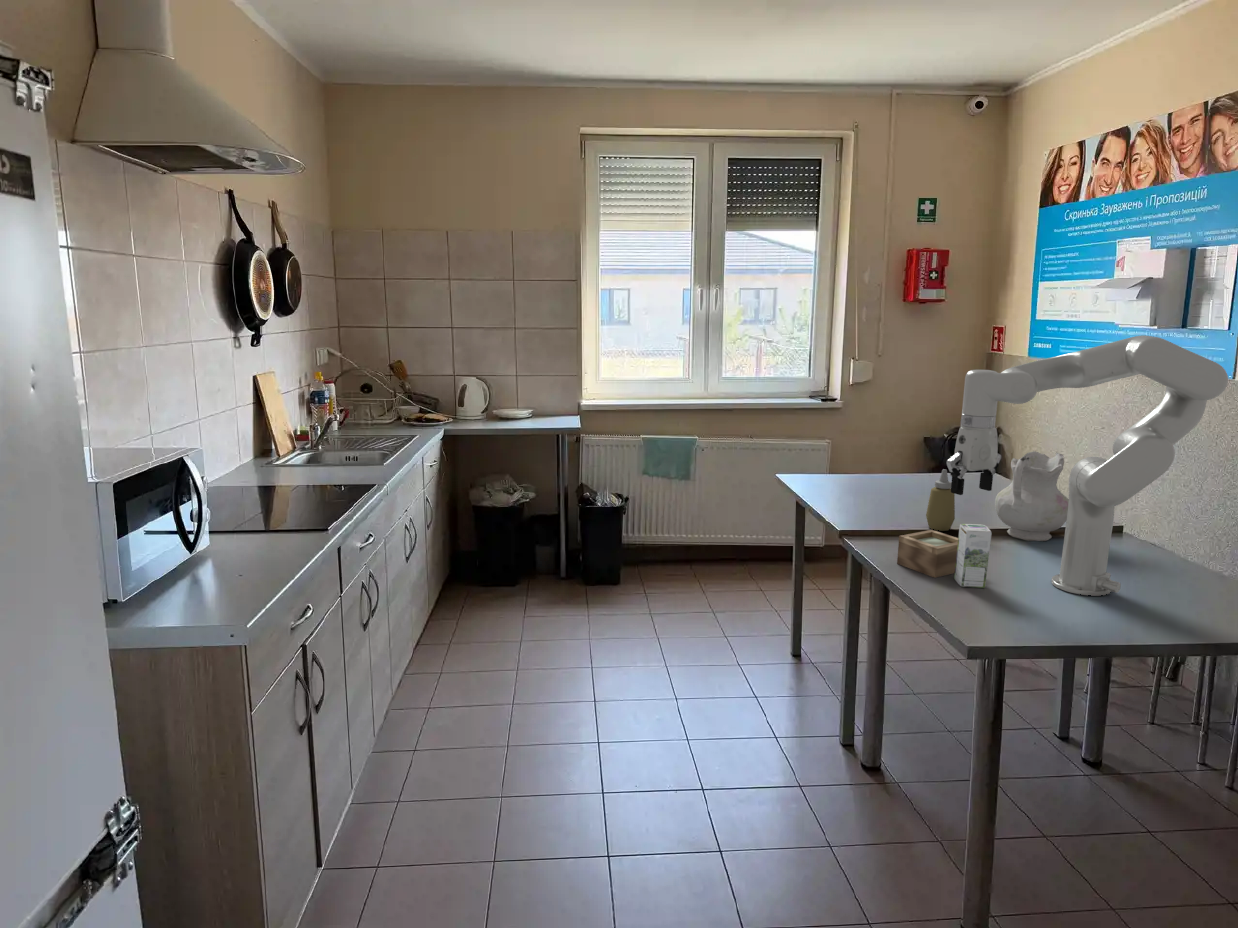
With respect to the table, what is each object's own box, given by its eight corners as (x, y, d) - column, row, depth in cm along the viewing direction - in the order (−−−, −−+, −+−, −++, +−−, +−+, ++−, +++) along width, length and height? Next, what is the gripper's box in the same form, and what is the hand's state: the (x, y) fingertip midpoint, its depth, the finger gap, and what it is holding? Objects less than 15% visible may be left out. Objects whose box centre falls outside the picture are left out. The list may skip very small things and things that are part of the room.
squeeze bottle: (935, 533, 239) (941, 473, 236) (919, 525, 247) (924, 467, 243) (959, 531, 242) (965, 472, 238) (942, 524, 249) (947, 466, 245)
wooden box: (967, 570, 208) (970, 541, 206) (934, 577, 202) (937, 548, 201) (929, 556, 218) (931, 529, 217) (896, 563, 213) (899, 535, 211)
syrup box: (977, 580, 201) (983, 523, 198) (985, 588, 195) (992, 530, 192) (953, 579, 201) (959, 522, 198) (961, 587, 196) (966, 529, 193)
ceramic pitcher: (1054, 555, 224) (1073, 467, 218) (979, 536, 235) (996, 452, 229) (1068, 537, 241) (1086, 455, 235) (997, 520, 252) (1013, 442, 246)
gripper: (964, 426, 188) (958, 499, 192) (1016, 422, 196) (1008, 491, 200) (939, 422, 195) (933, 491, 199) (990, 417, 202) (983, 484, 206)
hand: (971, 491), depth 199 cm, fingers open, 9 cm apart
